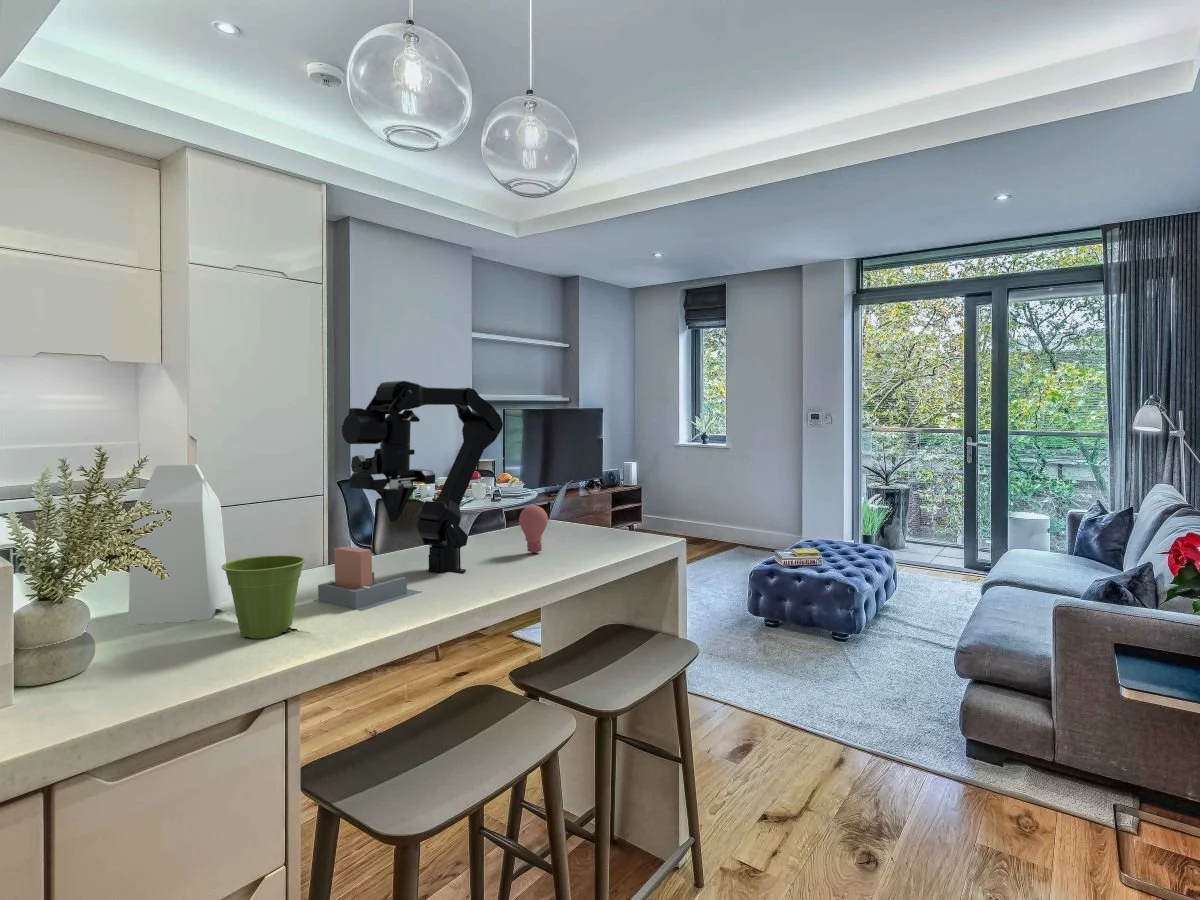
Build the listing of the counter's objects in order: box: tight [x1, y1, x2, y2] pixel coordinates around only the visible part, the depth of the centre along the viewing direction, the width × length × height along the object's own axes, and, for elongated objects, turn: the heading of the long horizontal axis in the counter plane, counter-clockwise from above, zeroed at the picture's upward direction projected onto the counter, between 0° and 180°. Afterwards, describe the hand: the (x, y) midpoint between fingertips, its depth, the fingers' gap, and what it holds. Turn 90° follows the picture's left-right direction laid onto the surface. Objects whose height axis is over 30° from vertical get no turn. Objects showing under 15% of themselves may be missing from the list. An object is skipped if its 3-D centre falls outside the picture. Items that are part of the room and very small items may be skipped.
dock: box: [313, 571, 423, 612], centre depth 120 cm, size 14×13×4 cm
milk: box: [128, 463, 230, 626], centre depth 113 cm, size 12×12×26 cm
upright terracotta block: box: [333, 545, 373, 590], centre depth 118 cm, size 3×7×9 cm, turn 60°
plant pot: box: [222, 554, 307, 640], centre depth 103 cm, size 12×12×11 cm
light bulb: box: [518, 505, 549, 554], centre depth 163 cm, size 7×7×12 cm
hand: (393, 521), depth 131 cm, fingers closed
